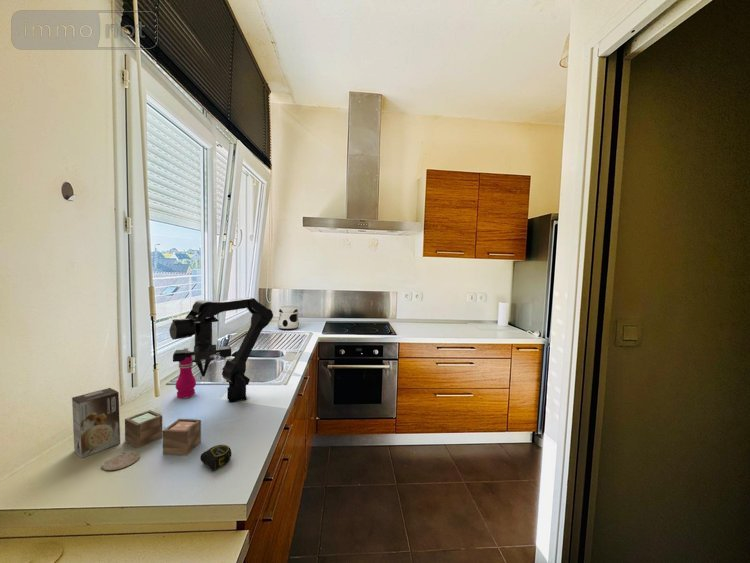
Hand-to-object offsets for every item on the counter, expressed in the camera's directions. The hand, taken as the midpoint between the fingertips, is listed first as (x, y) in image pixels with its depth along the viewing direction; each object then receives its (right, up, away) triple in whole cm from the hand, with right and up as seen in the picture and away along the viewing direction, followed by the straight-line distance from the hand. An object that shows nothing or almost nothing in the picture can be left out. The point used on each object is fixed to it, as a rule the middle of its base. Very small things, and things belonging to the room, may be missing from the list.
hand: (203, 376), depth 116 cm
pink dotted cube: (+6, -12, -23) cm, 27 cm away
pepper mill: (-14, -12, +13) cm, 23 cm away
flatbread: (-6, -15, -30) cm, 34 cm away
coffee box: (-18, -14, -24) cm, 33 cm away
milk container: (-8, -4, +143) cm, 143 cm away
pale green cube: (-8, -12, -19) cm, 24 cm away
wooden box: (+6, -15, -23) cm, 28 cm away
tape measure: (+20, -16, -30) cm, 39 cm away
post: (-8, -14, -19) cm, 25 cm away
